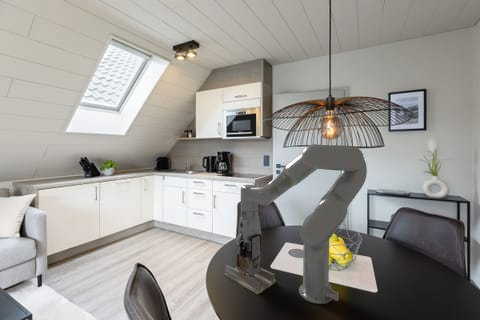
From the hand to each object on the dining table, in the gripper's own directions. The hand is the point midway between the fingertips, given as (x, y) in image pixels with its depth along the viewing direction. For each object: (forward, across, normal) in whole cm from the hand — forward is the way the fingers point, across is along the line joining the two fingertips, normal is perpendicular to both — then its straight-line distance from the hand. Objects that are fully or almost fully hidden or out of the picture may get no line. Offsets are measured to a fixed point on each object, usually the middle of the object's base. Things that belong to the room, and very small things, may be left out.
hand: (249, 253), depth 104 cm
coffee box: (+8, 0, 0) cm, 8 cm away
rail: (+11, 0, 0) cm, 11 cm away
